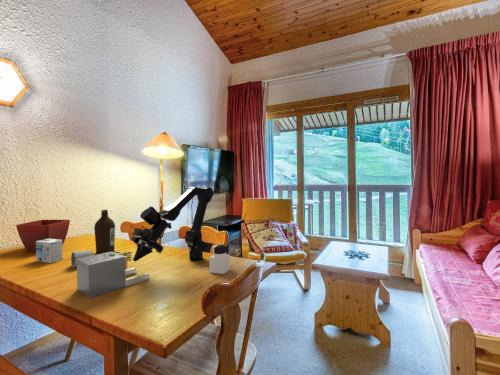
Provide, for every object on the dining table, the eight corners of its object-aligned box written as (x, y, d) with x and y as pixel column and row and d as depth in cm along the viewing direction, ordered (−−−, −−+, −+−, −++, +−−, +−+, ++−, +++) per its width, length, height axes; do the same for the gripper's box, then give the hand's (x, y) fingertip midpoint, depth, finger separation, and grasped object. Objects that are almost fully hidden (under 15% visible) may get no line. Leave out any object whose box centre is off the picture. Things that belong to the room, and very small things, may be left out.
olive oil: (92, 255, 144) (90, 211, 144) (98, 250, 155) (97, 209, 154) (112, 254, 147) (111, 210, 146) (117, 249, 157) (117, 208, 156)
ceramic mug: (94, 265, 128) (93, 249, 128) (75, 269, 122) (74, 253, 122) (87, 261, 135) (86, 246, 135) (68, 265, 129) (68, 249, 129)
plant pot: (48, 253, 149) (47, 224, 148) (15, 253, 149) (14, 224, 149) (71, 245, 168) (70, 219, 167) (42, 245, 168) (42, 219, 168)
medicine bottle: (230, 269, 121) (229, 244, 121) (223, 274, 114) (223, 247, 114) (216, 267, 123) (216, 242, 123) (209, 272, 117) (209, 246, 116)
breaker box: (135, 272, 117) (134, 245, 117) (149, 278, 110) (148, 249, 109) (77, 289, 99) (76, 257, 99) (89, 298, 92) (88, 263, 91)
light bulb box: (35, 261, 134) (35, 241, 134) (49, 257, 141) (48, 238, 140) (50, 263, 131) (49, 242, 131) (63, 259, 138) (62, 239, 137)
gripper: (134, 218, 120) (110, 247, 112) (155, 222, 108) (130, 255, 100) (150, 232, 126) (129, 260, 118) (172, 237, 115) (150, 269, 107)
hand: (134, 260), depth 111 cm, fingers closed
